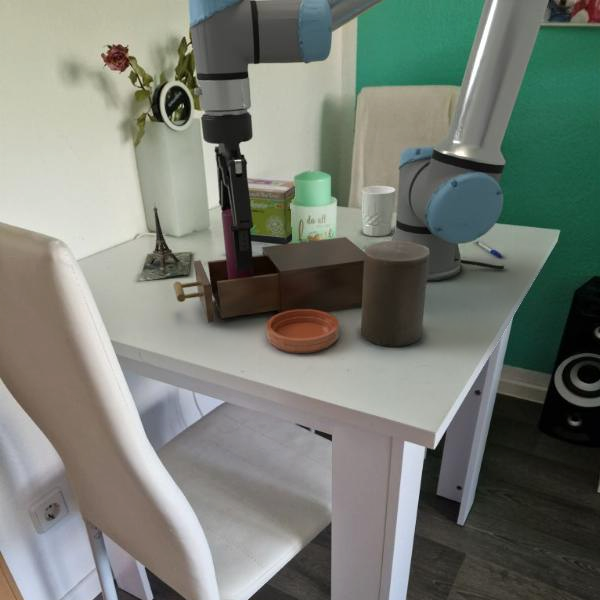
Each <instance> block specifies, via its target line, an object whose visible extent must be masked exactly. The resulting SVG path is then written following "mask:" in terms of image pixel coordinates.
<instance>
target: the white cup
mask: <svg viewBox="0 0 600 600" xmlns="http://www.w3.org/2000/svg"><path fill="white" fill-rule="evenodd" d="M396 192H397V191H396V188H395V187H392V186H388V185H387V186H386V185H371V186H366V187H363V188H362V189H361V218H362V219H361V221H362V232H363V234H364V235H366V236H369V237H384V236H388V235H390V234H391V232H392V225H393V224H392V222H393V217H394V210H395V201H396Z"/></svg>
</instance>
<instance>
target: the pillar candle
mask: <svg viewBox="0 0 600 600" xmlns="http://www.w3.org/2000/svg"><path fill="white" fill-rule="evenodd" d="M363 252H364V273H363V296H362V306H361V323H360V326H361V327H360V332H361V336H362V337H363V338H364V339H365V340H366V341H368V342H369V343H372V344H374V345H379V346H383V347H389V348H395V347H405V346H409V345H412V344H415V343H416V342H418V341H419V340H420V339H421V338H422V333H423V325H424V324H423V323H424V314H425V304H426V294H427V282H428V281H427V274H428V263H429V248H427V247H426V246H423V245H419V244H417V243H412V242H402V241H391V240H382V241H378V242H375V243H372V244H369V245H367V246H366V247H365V248H364V251H363Z"/></svg>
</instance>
